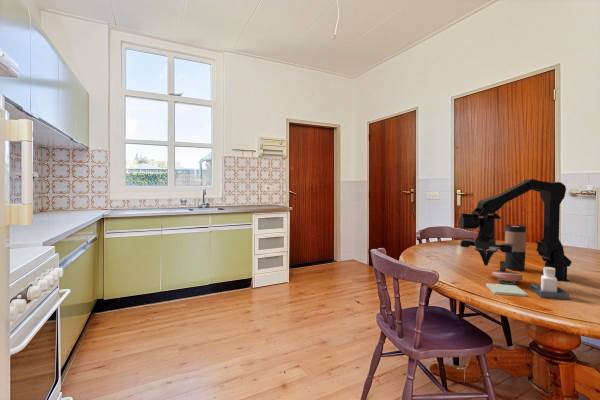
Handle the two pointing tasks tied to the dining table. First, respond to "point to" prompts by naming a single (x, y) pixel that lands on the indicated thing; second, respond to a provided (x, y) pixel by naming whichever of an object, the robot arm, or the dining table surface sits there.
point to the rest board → (506, 289)
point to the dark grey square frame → (549, 292)
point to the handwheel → (506, 273)
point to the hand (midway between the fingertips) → (486, 265)
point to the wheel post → (506, 282)
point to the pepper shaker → (549, 280)
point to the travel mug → (516, 247)
